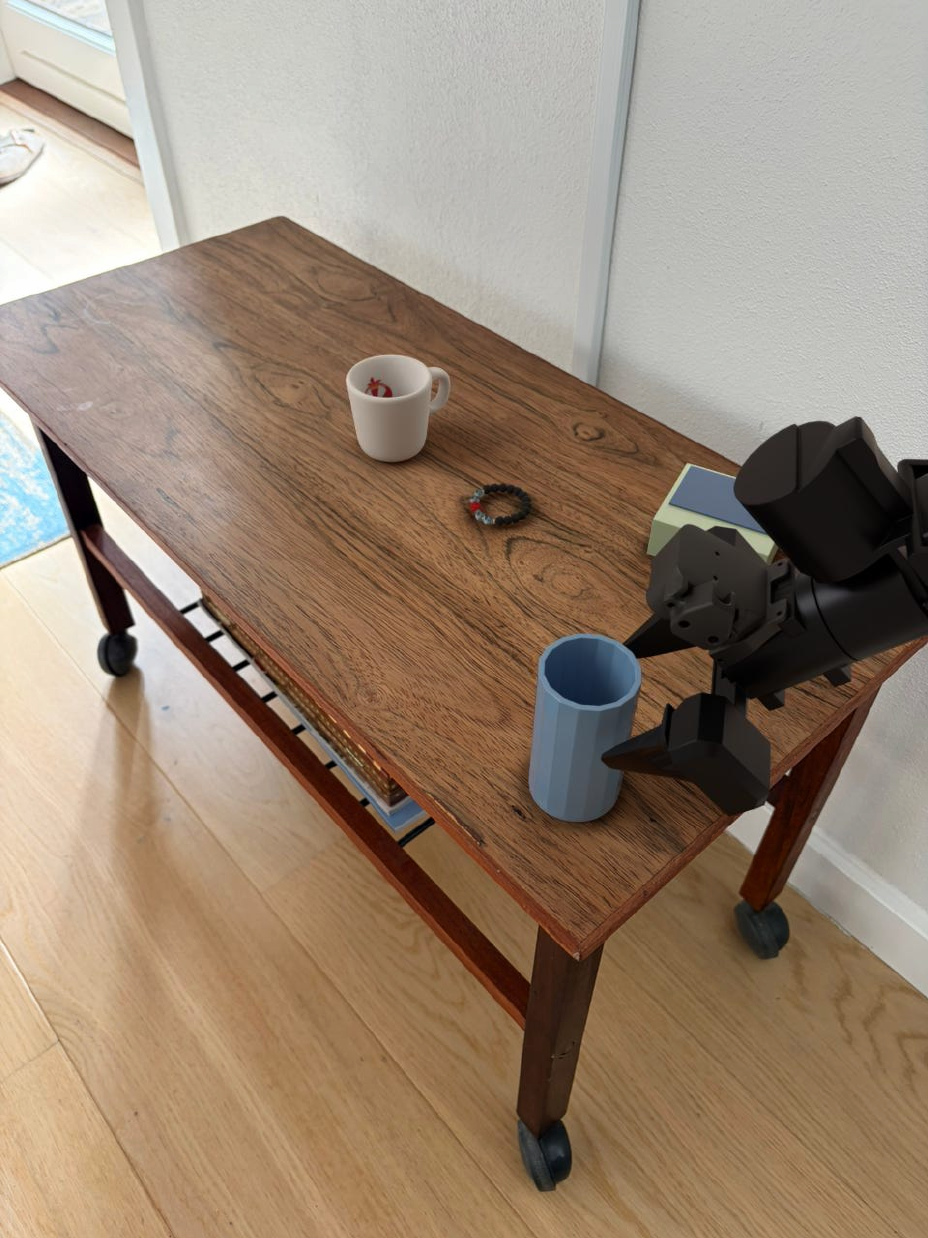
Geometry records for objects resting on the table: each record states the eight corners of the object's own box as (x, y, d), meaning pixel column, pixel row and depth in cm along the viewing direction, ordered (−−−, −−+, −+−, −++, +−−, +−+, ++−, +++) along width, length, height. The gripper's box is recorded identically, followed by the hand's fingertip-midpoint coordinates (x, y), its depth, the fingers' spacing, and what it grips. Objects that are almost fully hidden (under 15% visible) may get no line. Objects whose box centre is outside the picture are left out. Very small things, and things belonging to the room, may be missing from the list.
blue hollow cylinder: (632, 768, 73) (656, 654, 64) (598, 837, 69) (619, 725, 60) (550, 735, 75) (563, 621, 66) (513, 800, 71) (521, 686, 62)
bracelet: (463, 493, 95) (463, 484, 94) (522, 485, 96) (523, 477, 95) (476, 532, 91) (477, 523, 90) (538, 523, 92) (539, 515, 91)
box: (786, 530, 92) (797, 493, 89) (758, 591, 86) (769, 554, 83) (680, 497, 95) (687, 460, 92) (646, 554, 89) (653, 517, 86)
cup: (424, 405, 105) (423, 335, 100) (472, 441, 101) (473, 370, 95) (336, 442, 101) (329, 371, 95) (381, 481, 96) (377, 409, 90)
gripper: (760, 414, 59) (556, 531, 68) (750, 643, 46) (501, 747, 56) (861, 539, 63) (657, 632, 73) (878, 780, 51) (627, 854, 60)
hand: (614, 705), depth 65 cm, fingers open, 9 cm apart
